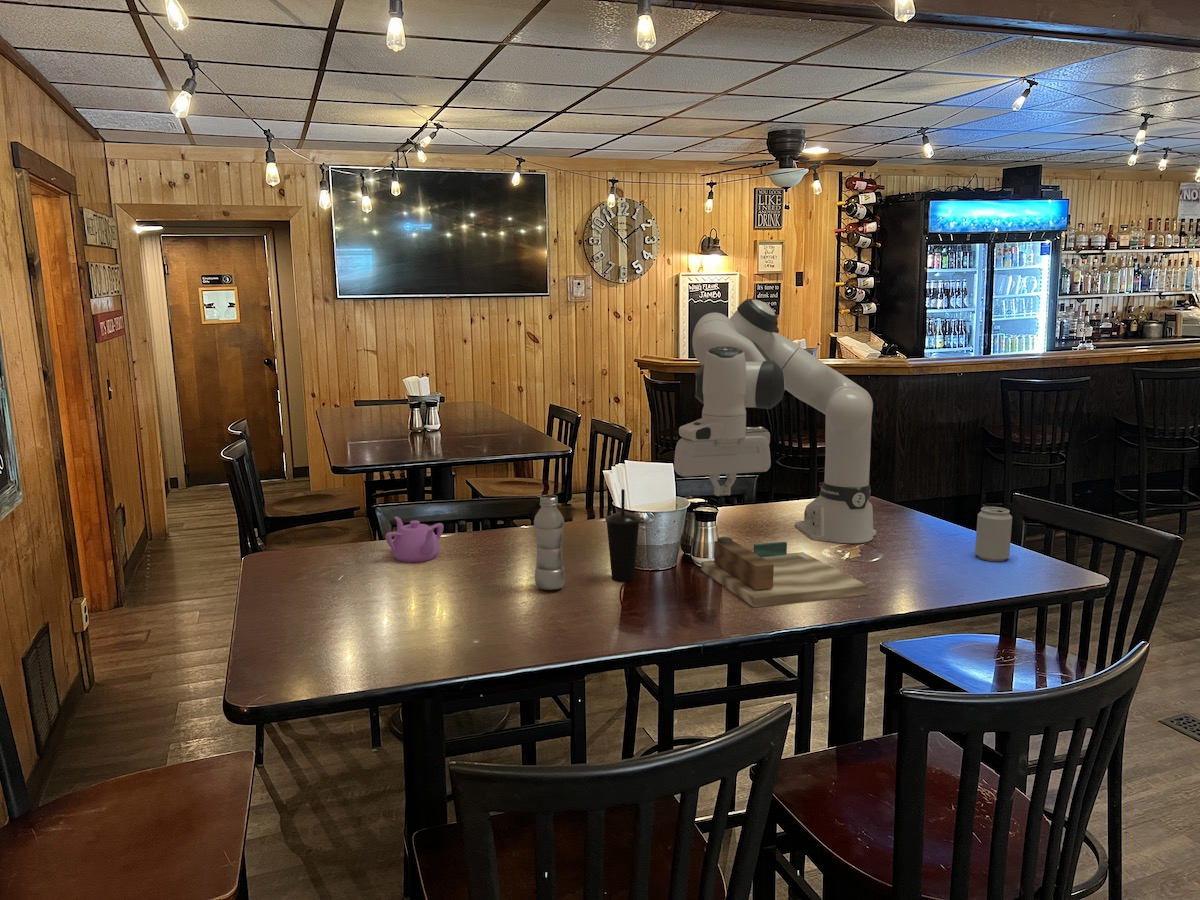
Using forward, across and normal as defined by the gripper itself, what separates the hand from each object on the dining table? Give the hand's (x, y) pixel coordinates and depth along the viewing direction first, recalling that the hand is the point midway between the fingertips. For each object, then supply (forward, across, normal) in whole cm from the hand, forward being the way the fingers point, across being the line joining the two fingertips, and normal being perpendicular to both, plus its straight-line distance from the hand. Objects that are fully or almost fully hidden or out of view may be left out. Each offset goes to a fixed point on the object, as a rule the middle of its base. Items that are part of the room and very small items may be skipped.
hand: (722, 495), depth 178 cm
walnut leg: (+19, -7, -4) cm, 21 cm away
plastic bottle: (+21, +33, -14) cm, 42 cm away
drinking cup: (+21, +16, -16) cm, 31 cm away
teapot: (+21, +58, -47) cm, 78 cm away
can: (+21, -73, -5) cm, 76 cm away
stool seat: (+21, -16, -4) cm, 27 cm away
